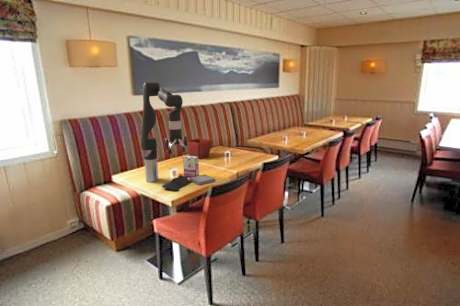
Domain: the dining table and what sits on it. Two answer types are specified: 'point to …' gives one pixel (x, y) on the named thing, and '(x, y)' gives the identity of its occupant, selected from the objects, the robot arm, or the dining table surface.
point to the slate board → (201, 179)
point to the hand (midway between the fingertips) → (176, 153)
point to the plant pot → (199, 147)
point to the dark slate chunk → (177, 183)
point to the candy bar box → (191, 166)
